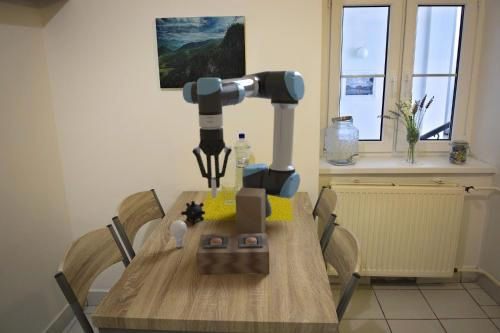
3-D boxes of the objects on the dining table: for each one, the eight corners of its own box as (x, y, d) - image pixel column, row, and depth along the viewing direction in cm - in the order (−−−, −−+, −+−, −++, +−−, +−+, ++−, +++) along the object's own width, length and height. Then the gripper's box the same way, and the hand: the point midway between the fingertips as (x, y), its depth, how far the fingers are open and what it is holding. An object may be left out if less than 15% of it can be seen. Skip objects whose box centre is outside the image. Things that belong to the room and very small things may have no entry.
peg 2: (249, 258, 133) (248, 236, 131) (258, 260, 131) (258, 238, 129) (243, 263, 130) (242, 240, 128) (253, 265, 128) (253, 243, 126)
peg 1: (215, 258, 133) (214, 236, 131) (224, 261, 131) (224, 239, 129) (209, 263, 130) (207, 241, 128) (218, 266, 128) (217, 243, 126)
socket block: (197, 274, 124) (196, 251, 122) (202, 254, 138) (201, 232, 135) (269, 273, 124) (269, 250, 122) (267, 253, 138) (267, 231, 135)
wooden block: (261, 245, 143) (261, 196, 138) (236, 243, 145) (235, 195, 140) (265, 234, 153) (265, 188, 148) (242, 232, 155) (241, 187, 150)
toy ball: (212, 210, 172) (209, 213, 160) (196, 226, 172) (192, 231, 160) (195, 194, 172) (191, 196, 160) (179, 210, 172) (174, 214, 160)
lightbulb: (179, 242, 148) (178, 216, 145) (191, 246, 144) (189, 219, 141) (167, 248, 143) (165, 221, 140) (179, 252, 139) (177, 225, 136)
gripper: (189, 129, 115) (193, 201, 122) (231, 128, 115) (233, 200, 122) (192, 125, 123) (196, 193, 129) (232, 124, 123) (234, 192, 129)
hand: (214, 196), depth 125 cm, fingers closed
